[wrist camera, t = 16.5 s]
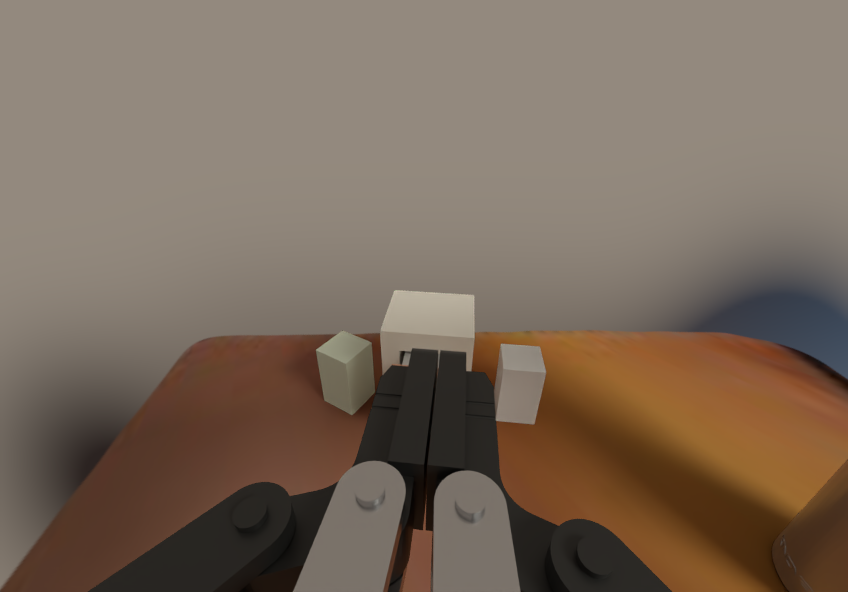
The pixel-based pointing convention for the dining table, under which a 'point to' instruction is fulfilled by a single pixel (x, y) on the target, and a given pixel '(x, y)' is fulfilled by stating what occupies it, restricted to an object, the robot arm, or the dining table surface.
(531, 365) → the grey block
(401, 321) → the cream box with panel
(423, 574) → the dining table surface
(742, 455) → the dining table surface
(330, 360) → the sage block
